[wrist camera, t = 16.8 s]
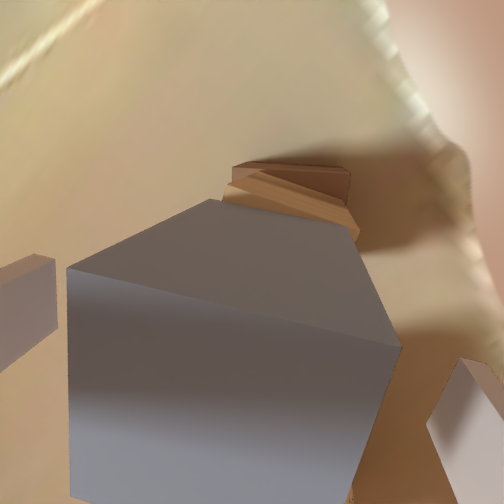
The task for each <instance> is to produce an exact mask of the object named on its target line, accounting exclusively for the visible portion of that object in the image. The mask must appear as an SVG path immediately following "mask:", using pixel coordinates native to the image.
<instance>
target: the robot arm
mask: <svg viewBox="0 0 504 504" xmlns="http://www.w3.org/2000/svg"><path fill="white" fill-rule="evenodd" d="M57 328H58V321H57V294H56V267H55V259H54V258H50V257H45V256H41V255H37V254H32V255H30V256H28V257H25V258H23V259H21V260H19V261H16V262H14V263H12V264H9V265H7V266H5V267H3V268H0V373H1V372H2V371H3V370H4V369H6V368H7V367H8V366H10V365H11V364H12V363H13V362H15V361H16V360H17V359H19V358H20V357H21V356H22V355H24V354H25V353H26V352H28V351H29V350H30V349H32V348H33V347H34V346H35V345H37V344H38V343H39V342H41V341H42V340H43V339H44V338H46V337H47V336H48V335H50V334H51V333H52V332H53V331H55V330H56V329H57ZM426 426H427V428H428V431H429V433H430V436H431V438H432V441H433V443H434V446H435V448H436V450H437V453H438V455H439V458H440V460H441V463H442V465H443V468H444V470H445V472H446V475H447V477H448V480H449V482H450V485H451V487H452V489H453V492H454V494H455V497H456V499H457V502H458V504H504V386H503V384H502V383H501V382H500V381H499V379H498V378H497V377H496V376H495V374H494V373H493V372H492V370H491V369H490V368H489V367H488V365H487V364H486V363H482V362H478V361H473V360H469V359H465V358H461V357H460V358H459V360H458V362H457V364H456V366H455V368H454V370H453V372H452V374H451V376H450V378H449V380H448V382H447V384H446V386H445V388H444V390H443V392H442V393H441V395H440V397H439V399H438V401H437V403H436V405H435V407H434V409H433V411H432V413H431V415H430V417H429V419H428V421H427V423H426Z"/></svg>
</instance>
